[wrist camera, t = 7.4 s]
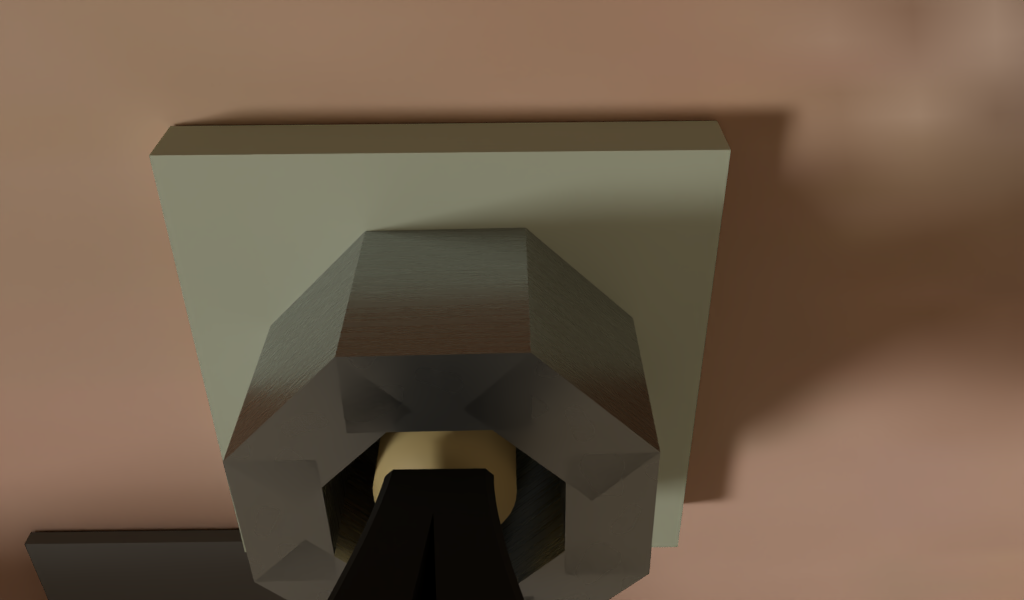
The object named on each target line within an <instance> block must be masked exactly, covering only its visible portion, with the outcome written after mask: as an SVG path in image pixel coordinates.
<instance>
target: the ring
mask: <svg viewBox="0 0 1024 600" xmlns="http://www.w3.org/2000/svg"><path fill="white" fill-rule="evenodd" d="M470 430H493V431H494V432H496V433H497V434H498V435H500V436H501V437H503V438H504V439H506V440H507V441H508V442H510V443H511V444H513V445H514V446H515V447H516V484H517V494H516V501H515V505H514V507H513V509H512V511H511V513H510V514H509V516H508V517H507V518H506V519H505V521H504V522H503V523H502V524H501V528H502V532H503V535H504V539H505V543H506V547H507V550H508V554H509V557H510V560H511V563H512V566H513V570H514V572H515V575H516V578H517V581H518V584H519V587H520V589H521V592H522V595H523V598H524V600H609V599H611V598H612V597H614V596H615V595H617V594H618V593H620V592H621V591H623V590H624V589H626V588H628V587H629V586H631V585H632V584H634V583H635V582H637V581H638V580H640V579H641V578H643V577H644V576H646V575H648V574H649V569H650V558H651V547H652V537H653V526H654V515H655V504H656V493H657V482H658V471H659V460H660V449H659V444H658V439H657V434H656V429H655V424H654V419H653V414H652V409H651V404H650V399H649V394H648V389H647V385H646V380H645V375H644V370H643V365H642V360H641V355H640V350H639V345H638V340H637V335H636V330H635V325H634V321H633V317H631V316H630V315H629V314H628V313H627V312H625V311H624V310H623V309H622V308H621V307H619V306H618V305H617V304H616V303H615V302H613V301H612V300H611V299H610V298H609V297H608V296H606V295H605V294H604V293H603V292H602V291H600V290H599V289H598V288H597V287H596V286H594V285H593V284H592V283H591V282H590V281H589V280H587V279H586V278H585V277H584V276H583V275H581V274H580V273H579V272H578V271H577V270H575V269H574V268H573V267H572V266H571V265H569V264H568V263H567V262H566V261H565V260H564V259H562V258H561V257H560V256H559V255H558V254H556V253H555V252H554V251H553V250H552V249H550V248H549V247H548V246H547V245H546V244H545V243H543V242H542V241H541V240H540V239H539V238H537V237H536V236H535V235H534V234H533V233H531V232H530V231H529V230H528V229H527V228H480V229H435V230H390V231H365V232H364V233H363V234H362V235H361V236H360V237H359V238H358V239H357V240H356V241H355V242H354V243H353V244H352V245H351V246H350V247H349V248H348V249H347V250H346V251H345V252H344V253H343V254H342V255H341V256H340V257H339V258H338V259H337V260H336V261H335V262H334V263H333V264H332V265H331V266H330V267H329V268H328V269H327V270H326V271H325V272H324V273H323V274H322V275H321V276H320V277H319V278H318V279H317V280H316V281H315V282H314V283H313V284H312V285H311V286H310V287H309V288H308V289H307V290H306V291H305V292H304V293H303V294H302V295H301V296H300V297H299V298H298V299H297V300H296V301H295V302H294V303H293V304H292V305H291V306H290V307H289V308H288V309H287V310H286V311H285V312H284V313H283V314H282V315H281V316H280V317H279V318H278V319H277V320H276V321H275V322H274V323H273V324H272V325H271V326H270V329H269V331H268V334H267V337H266V340H265V343H264V346H263V349H262V351H261V354H260V357H259V360H258V363H257V366H256V369H255V371H254V374H253V377H252V380H251V383H250V386H249V389H248V391H247V394H246V397H245V400H244V403H243V406H242V409H241V411H240V414H239V417H238V420H237V423H236V426H235V429H234V431H233V434H232V437H231V440H230V443H229V446H228V449H227V451H226V454H225V457H224V460H223V464H224V468H225V472H226V475H227V479H228V483H229V487H230V491H231V495H232V498H233V502H234V506H235V510H236V514H237V518H238V522H239V525H240V529H241V533H242V537H243V541H244V545H245V548H246V552H247V556H248V560H249V564H250V568H251V572H252V575H253V579H254V582H255V583H257V584H259V585H261V586H263V587H265V588H266V589H268V590H270V591H272V592H274V593H275V594H277V595H279V596H281V597H283V598H285V599H286V600H327V599H328V598H329V596H330V594H331V592H332V590H333V588H334V586H335V585H336V583H337V581H338V579H339V577H340V575H341V573H342V571H343V570H344V568H345V566H346V564H347V562H348V560H349V558H350V557H351V555H352V553H353V551H354V549H355V546H356V544H357V542H358V540H359V538H360V536H361V534H362V532H363V530H364V528H365V526H366V523H367V521H368V519H369V517H370V514H371V512H372V510H373V507H374V505H375V501H374V496H373V482H374V476H375V469H376V463H377V457H378V450H379V444H380V437H381V436H383V435H384V434H385V433H386V432H423V431H470Z"/></svg>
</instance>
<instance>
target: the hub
mask: <svg viewBox="0 0 1024 600" xmlns="http://www.w3.org/2000/svg"><path fill="white" fill-rule="evenodd" d="M730 153H731V149H730V147H729V145H728V143H727V141H726V139H725V136H724V134H723V132H722V130H721V128H720V126H719V124H718V122H717V121H647V122H543V123H439V124H336V125H232V126H170V127H169V129H168V130H167V132H166V133H165V134H164V136H163V137H162V138H161V140H160V141H159V143H158V144H157V145H156V147H155V148H154V150H153V151H152V152H151V154H150V155H149V157H150V161H151V165H152V169H153V173H154V177H155V182H156V186H157V190H158V194H159V198H160V202H161V206H162V211H163V215H164V219H165V223H166V227H167V231H168V236H169V240H170V244H171V248H172V252H173V256H174V260H175V265H176V269H177V273H178V277H179V281H180V285H181V289H182V294H183V298H184V302H185V306H186V310H187V314H188V318H189V323H190V327H191V331H192V335H193V339H194V343H195V347H196V352H197V356H198V360H199V364H200V368H201V372H202V376H203V381H204V385H205V389H206V393H207V397H208V401H209V406H210V410H211V414H212V418H213V422H214V426H215V430H216V435H217V439H218V443H219V447H220V451H221V455H222V459H223V460H224V457H225V454H226V451H227V449H228V446H229V443H230V440H231V437H232V434H233V431H234V429H235V426H236V423H237V420H238V417H239V414H240V411H241V409H242V406H243V403H244V400H245V397H246V394H247V391H248V389H249V386H250V383H251V380H252V377H253V374H254V371H255V369H256V366H257V363H258V360H259V357H260V354H261V351H262V349H263V346H264V343H265V340H266V337H267V334H268V331H269V329H270V326H271V325H272V324H273V323H274V322H275V321H276V320H277V319H278V318H279V317H280V316H281V315H282V314H283V313H284V312H285V311H286V310H287V309H288V308H289V307H290V306H291V305H292V304H293V303H294V302H295V301H296V300H297V299H298V298H299V297H300V296H301V295H302V294H303V293H304V292H305V291H306V290H307V289H308V288H309V287H310V286H311V285H312V284H313V283H314V282H315V281H316V280H317V279H318V278H319V277H320V276H321V275H322V274H323V273H324V272H325V271H326V270H327V269H328V268H329V267H330V266H331V265H332V264H333V263H334V262H335V261H336V260H337V259H338V258H339V257H340V256H341V255H342V254H343V253H344V252H345V251H346V250H347V249H348V248H349V247H350V246H351V245H352V244H353V243H354V242H355V241H356V240H357V239H358V238H359V237H360V236H361V235H362V234H363V233H364V232H365V231H390V230H435V229H480V228H527V229H528V230H529V231H530V232H531V233H533V234H534V235H535V236H536V237H537V238H539V239H540V240H541V241H542V242H543V243H545V244H546V245H547V246H548V247H549V248H550V249H552V250H553V251H554V252H555V253H556V254H558V255H559V256H560V257H561V258H562V259H564V260H565V261H566V262H567V263H568V264H569V265H571V266H572V267H573V268H574V269H575V270H577V271H578V272H579V273H580V274H581V275H583V276H584V277H585V278H586V279H587V280H589V281H590V282H591V283H592V284H593V285H594V286H596V287H597V288H598V289H599V290H600V291H602V292H603V293H604V294H605V295H606V296H608V297H609V298H610V299H611V300H612V301H613V302H615V303H616V304H617V305H618V306H619V307H621V308H622V309H623V310H624V311H625V312H627V313H628V314H629V315H630V316H631V317H633V321H634V325H635V330H636V335H637V340H638V345H639V350H640V355H641V360H642V365H643V370H644V375H645V380H646V385H647V389H648V394H649V399H650V404H651V409H652V414H653V419H654V424H655V429H656V434H657V439H658V444H659V449H660V460H659V471H658V482H657V493H656V504H655V515H654V526H653V537H652V547H678V540H679V532H680V525H681V517H682V510H683V502H684V495H685V488H686V480H687V473H688V465H689V458H690V450H691V443H692V435H693V428H694V421H695V413H696V406H697V398H698V391H699V383H700V376H701V368H702V361H703V354H704V346H705V339H706V331H707V324H708V316H709V309H710V301H711V294H712V287H713V279H714V272H715V264H716V257H717V249H718V242H719V234H720V227H721V220H722V212H723V205H724V197H725V190H726V182H727V175H728V167H729V160H730ZM473 468H486V469H487V470H488V471H489V472H491V473H492V474H493V475H494V489H495V497H496V504H497V510H498V515H499V519H500V524H502V523H503V522H504V521H505V519H506V518H507V517H508V516H509V514H510V513H511V511H512V509H513V507H514V505H515V501H516V494H517V484H516V447H515V446H514V445H513V444H511V443H510V442H508V441H507V440H506V439H504V438H503V437H501V436H500V435H498V434H497V433H496V432H494V431H493V430H470V431H423V432H386V433H385V434H384V435H383V436H381V437H380V444H379V450H378V457H377V463H376V469H375V476H374V482H373V496H374V501H375V502H376V500H377V497H378V495H379V492H380V490H381V487H382V484H383V481H384V478H385V476H386V475H387V474H388V473H389V472H391V471H392V470H393V469H473ZM226 476H227V475H226ZM227 480H228V479H227ZM228 484H229V483H228ZM229 488H230V487H229ZM230 493H231V491H230ZM231 497H232V495H231ZM232 501H233V498H232ZM233 505H234V502H233ZM234 509H235V506H234ZM235 513H236V510H235ZM236 517H237V514H236ZM237 522H238V518H237ZM238 526H239V530H240V534H241V538H242V542H243V546H244V551H245V552H246V548H245V545H244V541H243V537H242V533H241V529H240V525H239V522H238Z"/></svg>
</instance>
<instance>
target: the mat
mask: <svg viewBox="0 0 1024 600" xmlns="http://www.w3.org/2000/svg"><path fill="white" fill-rule="evenodd" d="M25 546H26V549H27V551H28V553H29V556H30V558H31V560H32V563H33V565H34V567H35V570H36V572H37V574H38V577H39V579H40V581H41V584H42V586H43V588H44V591H45V593H46V595H47V598H48V600H286V599H285V598H283V597H281V596H279V595H277V594H275V593H274V592H272V591H270V590H268V589H266V588H265V587H263V586H261V585H259V584H257V583H255V582H254V579H253V575H252V572H251V568H250V564H249V560H248V556H247V552H245V551H244V546H243V542H242V538H241V534H240V530H193V531H108V532H31V533H30V535H29V537H28V539H27V541H26V542H25Z"/></svg>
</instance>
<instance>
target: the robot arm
mask: <svg viewBox="0 0 1024 600" xmlns="http://www.w3.org/2000/svg"><path fill="white" fill-rule="evenodd" d="M327 600H524V598H523V595H522V592H521V589H520V587H519V584H518V581H517V578H516V575H515V572H514V570H513V566H512V563H511V560H510V557H509V554H508V550H507V547H506V543H505V539H504V535H503V532H502V528H501V524H500V519H499V515H498V510H497V504H496V497H495V489H494V475H493V474H492V473H491V472H489V471H488V470H487V469H486V468H473V469H393V470H392V471H391V472H389V473H388V474H387V475H386V476H385V478H384V481H383V484H382V487H381V490H380V492H379V495H378V497H377V500H376V502H375V505H374V507H373V510H372V512H371V514H370V517H369V519H368V521H367V523H366V526H365V528H364V530H363V532H362V534H361V536H360V538H359V540H358V542H357V544H356V546H355V549H354V551H353V553H352V555H351V557H350V558H349V560H348V562H347V564H346V566H345V568H344V570H343V571H342V573H341V575H340V577H339V579H338V581H337V583H336V585H335V586H334V588H333V590H332V592H331V594H330V596H329V598H328V599H327Z"/></svg>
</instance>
